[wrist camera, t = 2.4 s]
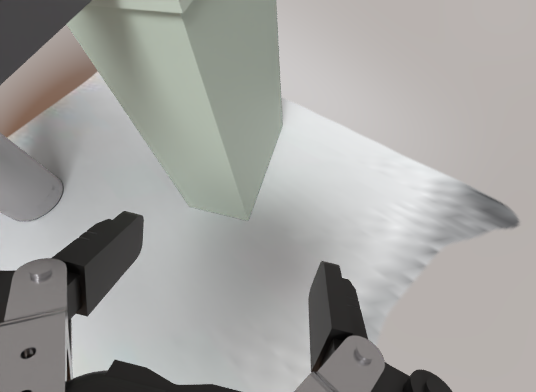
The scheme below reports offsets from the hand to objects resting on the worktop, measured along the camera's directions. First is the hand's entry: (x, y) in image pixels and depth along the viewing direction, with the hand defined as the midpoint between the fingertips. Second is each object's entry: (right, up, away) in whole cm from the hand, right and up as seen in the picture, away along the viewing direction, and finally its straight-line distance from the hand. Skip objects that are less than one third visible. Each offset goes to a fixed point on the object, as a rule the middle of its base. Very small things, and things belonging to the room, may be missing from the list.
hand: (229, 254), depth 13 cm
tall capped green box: (-3, +8, +37) cm, 38 cm away
